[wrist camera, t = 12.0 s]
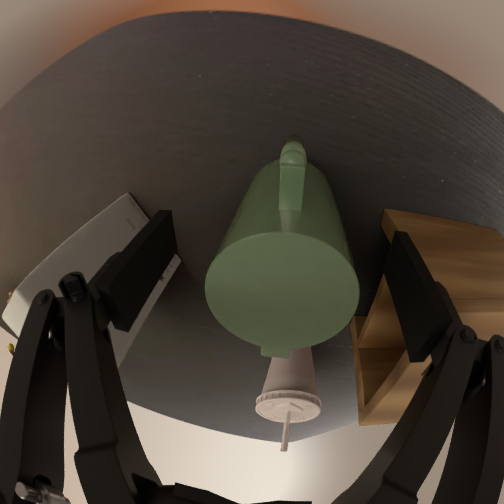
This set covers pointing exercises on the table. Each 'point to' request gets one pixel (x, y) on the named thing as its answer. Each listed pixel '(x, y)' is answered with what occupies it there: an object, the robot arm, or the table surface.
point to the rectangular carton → (90, 266)
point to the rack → (459, 289)
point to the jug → (284, 260)
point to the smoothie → (290, 391)
